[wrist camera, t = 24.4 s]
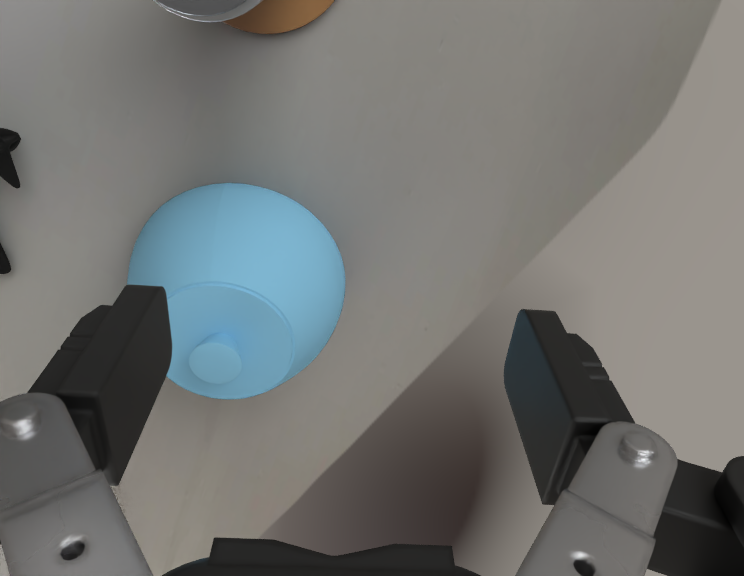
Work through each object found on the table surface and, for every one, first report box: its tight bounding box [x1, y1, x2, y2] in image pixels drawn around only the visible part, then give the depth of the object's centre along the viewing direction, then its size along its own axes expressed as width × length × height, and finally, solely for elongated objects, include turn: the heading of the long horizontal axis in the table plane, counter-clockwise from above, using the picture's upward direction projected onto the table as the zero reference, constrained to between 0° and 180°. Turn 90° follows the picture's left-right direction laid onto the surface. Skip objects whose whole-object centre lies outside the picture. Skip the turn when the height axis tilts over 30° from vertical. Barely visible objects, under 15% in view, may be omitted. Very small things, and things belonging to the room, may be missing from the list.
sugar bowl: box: [127, 183, 345, 399], centre depth 38 cm, size 15×15×12 cm
